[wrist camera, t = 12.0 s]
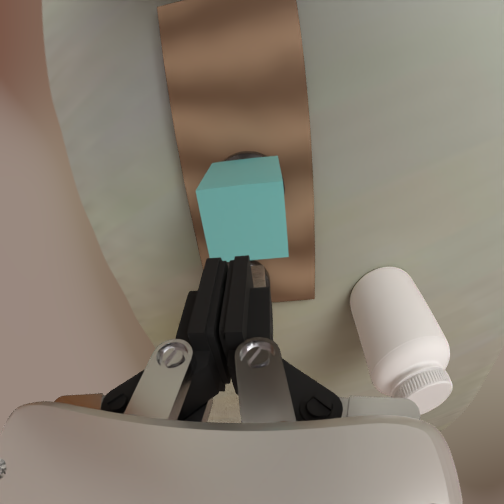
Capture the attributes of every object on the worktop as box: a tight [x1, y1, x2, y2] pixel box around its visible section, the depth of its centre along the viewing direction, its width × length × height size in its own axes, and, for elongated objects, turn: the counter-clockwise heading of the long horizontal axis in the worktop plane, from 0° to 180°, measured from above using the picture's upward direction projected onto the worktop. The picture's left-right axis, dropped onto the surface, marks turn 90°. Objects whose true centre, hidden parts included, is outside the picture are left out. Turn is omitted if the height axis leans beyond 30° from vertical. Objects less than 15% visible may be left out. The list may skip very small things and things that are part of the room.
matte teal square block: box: [196, 156, 289, 262], centre depth 22 cm, size 5×5×7 cm
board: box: [157, 0, 315, 302], centre depth 25 cm, size 30×11×1 cm, turn 6°
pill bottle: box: [350, 267, 453, 415], centre depth 26 cm, size 8×8×15 cm
